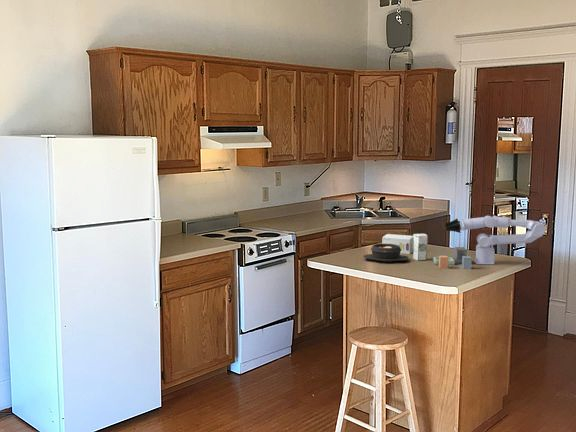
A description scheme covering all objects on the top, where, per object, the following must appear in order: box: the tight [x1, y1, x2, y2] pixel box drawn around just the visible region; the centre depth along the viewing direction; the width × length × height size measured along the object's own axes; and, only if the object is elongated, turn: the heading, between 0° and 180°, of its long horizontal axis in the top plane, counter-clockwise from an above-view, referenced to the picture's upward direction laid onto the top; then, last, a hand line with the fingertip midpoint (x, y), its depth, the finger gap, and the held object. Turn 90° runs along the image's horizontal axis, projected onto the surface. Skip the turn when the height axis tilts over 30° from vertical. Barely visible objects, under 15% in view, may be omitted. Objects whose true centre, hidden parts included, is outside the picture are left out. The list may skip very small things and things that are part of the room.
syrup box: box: [412, 233, 428, 262], centre depth 349 cm, size 6×6×14 cm
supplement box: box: [381, 233, 414, 255], centre depth 375 cm, size 17×13×9 cm
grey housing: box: [453, 246, 468, 266], centre depth 342 cm, size 7×11×8 cm, turn 174°
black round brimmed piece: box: [362, 243, 409, 263], centre depth 348 cm, size 25×19×8 cm
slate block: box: [461, 256, 473, 270], centre depth 328 cm, size 4×4×6 cm
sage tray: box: [432, 256, 455, 266], centre depth 341 cm, size 10×10×2 cm
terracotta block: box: [438, 255, 449, 270], centre depth 329 cm, size 4×4×6 cm
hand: (446, 227), depth 342 cm, fingers open, 7 cm apart
